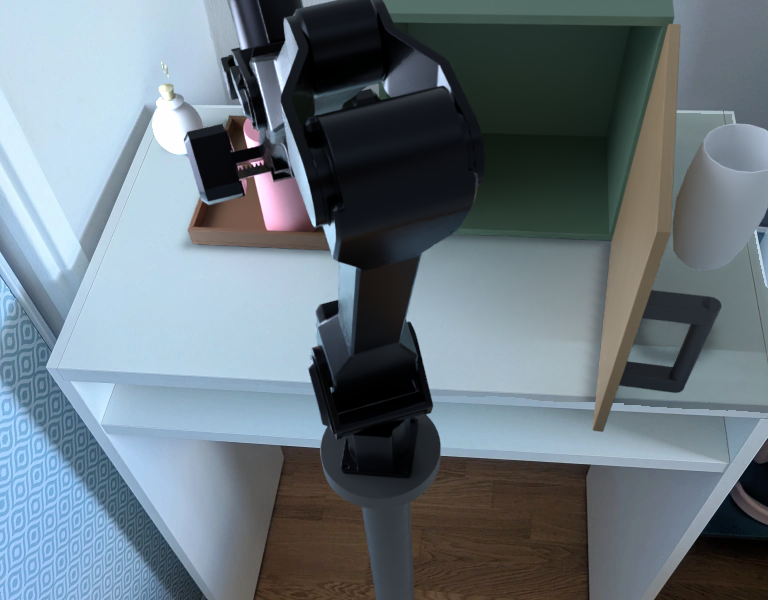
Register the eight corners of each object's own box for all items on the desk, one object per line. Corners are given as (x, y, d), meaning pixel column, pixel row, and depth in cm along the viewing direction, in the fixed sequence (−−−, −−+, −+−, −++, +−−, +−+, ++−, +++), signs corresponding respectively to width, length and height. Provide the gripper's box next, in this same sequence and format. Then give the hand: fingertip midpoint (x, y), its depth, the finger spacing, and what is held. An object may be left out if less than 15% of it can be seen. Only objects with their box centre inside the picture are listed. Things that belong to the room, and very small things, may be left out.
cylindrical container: (329, 227, 87) (316, 130, 77) (279, 247, 86) (258, 152, 75) (305, 195, 90) (289, 98, 80) (256, 215, 89) (233, 118, 78)
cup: (640, 360, 76) (706, 180, 58) (628, 307, 79) (687, 121, 61) (714, 357, 76) (803, 175, 57) (698, 304, 79) (778, 116, 61)
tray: (338, 251, 86) (336, 236, 84) (191, 244, 88) (187, 230, 86) (364, 133, 96) (362, 118, 94) (232, 129, 98) (228, 115, 96)
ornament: (160, 167, 95) (133, 89, 86) (162, 131, 99) (136, 52, 90) (208, 161, 95) (186, 83, 86) (209, 125, 99) (187, 46, 90)
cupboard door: (674, 250, 83) (753, 28, 63) (666, 441, 71) (761, 241, 51) (610, 244, 84) (668, 23, 64) (592, 430, 72) (656, 231, 52)
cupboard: (615, 241, 84) (674, 16, 64) (386, 231, 87) (373, 12, 67) (611, 139, 93) (663, -88, 72) (404, 133, 96) (397, -87, 75)
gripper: (373, -1, 64) (350, 62, 79) (155, 48, 62) (173, 103, 77) (405, 140, 67) (376, 175, 82) (197, 191, 65) (207, 217, 80)
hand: (284, 165), depth 80 cm, fingers open, 9 cm apart
